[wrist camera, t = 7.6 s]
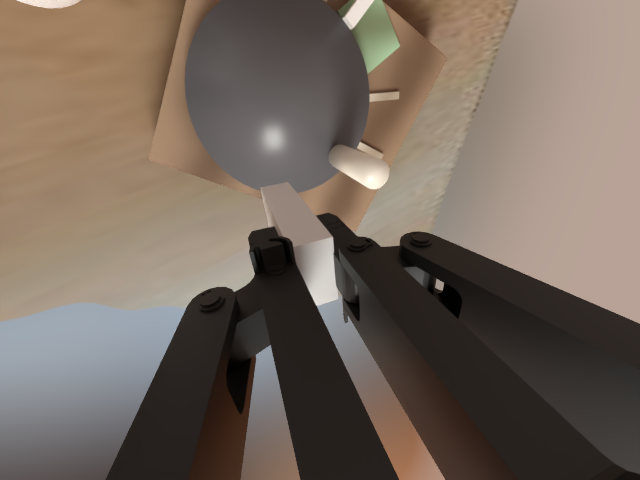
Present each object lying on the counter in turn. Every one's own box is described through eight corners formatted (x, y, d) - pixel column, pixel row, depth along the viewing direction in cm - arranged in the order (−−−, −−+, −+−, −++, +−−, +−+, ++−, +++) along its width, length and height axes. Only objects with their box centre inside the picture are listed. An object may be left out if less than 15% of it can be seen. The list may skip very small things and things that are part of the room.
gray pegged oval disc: (295, 218, 26) (319, 259, 19) (146, 114, 19) (103, 121, 12) (421, 63, 23) (501, 48, 16) (301, -129, 16) (355, -294, 9)
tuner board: (159, 150, 24) (147, 160, 20) (223, -107, 18) (222, -158, 15) (342, 217, 33) (356, 232, 29) (423, 57, 27) (453, 50, 24)
